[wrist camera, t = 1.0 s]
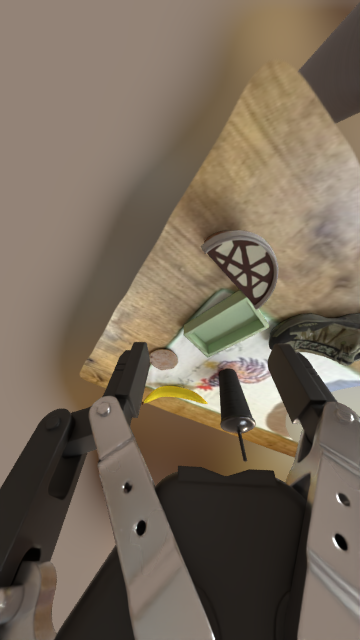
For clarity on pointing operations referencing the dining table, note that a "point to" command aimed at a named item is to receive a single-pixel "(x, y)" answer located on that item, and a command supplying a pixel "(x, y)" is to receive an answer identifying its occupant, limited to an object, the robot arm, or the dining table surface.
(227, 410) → the drinking cup
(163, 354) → the flatbread
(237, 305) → the holder
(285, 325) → the hiking shoe
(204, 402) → the banana
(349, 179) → the dining table surface
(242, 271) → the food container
